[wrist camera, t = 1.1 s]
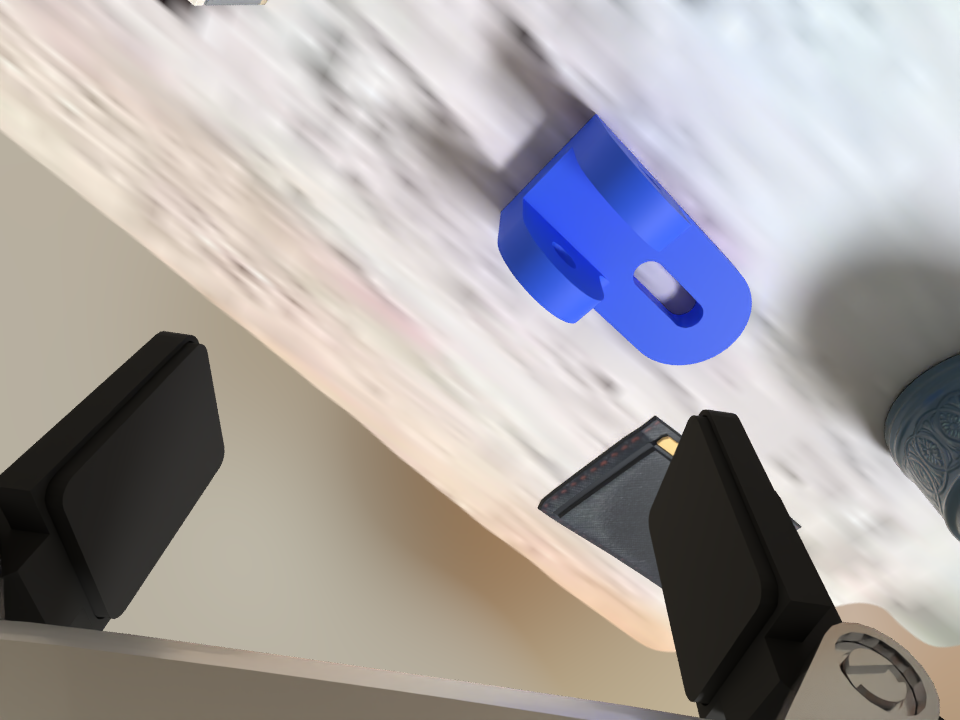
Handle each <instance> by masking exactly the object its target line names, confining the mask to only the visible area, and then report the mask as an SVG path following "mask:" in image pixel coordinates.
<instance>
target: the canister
mask: <svg viewBox="0 0 960 720" xmlns="http://www.w3.org/2000/svg"><path fill="white" fill-rule="evenodd" d="M884 434H885V441H886V444H887V446H888V448H889V450H890V453H891V456H892V458H893V460H894V462H895V463H896V465H897V466H898V467H899V468H900V469H901V471H902V472H903V474H904V475H905V476H906V477H907V478H908V479H910V480H911V481H912V482H914V483H915V484H916V485H917V487H918V488H919V489H920V490H921V492H922V493H923V494H924V495H925V497H926V498H927V499H928V500H929V501H930V503H931V504H932V505H933V506H934V508H935V509H936V510H937V511H938V513H939V514H940V515H941V516H942V518H943V519H944V520H945V523H946V526H947V528H948V529H949V531H950V532H951V534H952V535H953V536H954V537H955V538H956V539H957V540H958V541H960V354H959V355H956V356H954V357H952V358H949V359H947V360H945V361H943V362H941V363H939V364H938V365H936V366H934V367H932V368H931V369H929V370H928V371H926V372H925V373H923V374H922V375H921V376H919V377H918V378H917V379H915V380H914V381H913V382H912V383H911V384H910V385H909V386H908V387H907V388H906V389H905V390H904V391H903V392H902V393H901V394H900V395H899V397H898V398H897V399H896V401H895V402H894V404H893V405H892V407H891V409H890V411H889V413H888V416H887V419H886V422H885V429H884Z"/></svg>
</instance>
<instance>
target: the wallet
mask: <svg viewBox="0 0 960 720" xmlns="http://www.w3.org/2000/svg"><path fill="white" fill-rule="evenodd" d="M681 436H682V435H680V434H679V433H678V432H676V431H675V430H674V429H672V428H671V427H670V426H668V425H667V424H666V423H665V422H663V421H662V420H661V419H659V418H658V417H657V416H655V417H653V418H652V419H651V420H649V421H648V422H647V423H646V424H644V425H643V426H642V427H640V428H639V429H637V430H636V431H634V432H632V433H631V434H629V435H628V436H626V437H625V438H623V439H622V440H621V441H619V442H618V443H617V444H615V445H614V446H613V447H611V448H610V449H608V450H607V451H606V452H604V453H603V454H602V455H600V456H599V457H598V458H596V459H595V460H594V461H592V462H591V463H590V464H588V465H587V466H586V467H584V468H583V469H582V470H580V471H579V472H578V473H576V474H575V475H573V476H572V477H571V478H569V479H568V480H567V481H565V482H564V483H563V484H561V485H560V486H559V487H557V488H556V489H555V490H553V491H552V492H551V493H550V494H549V495H547V496H546V497H545V498H544V499H542V501H541V503H540V505H539V507H538V509H539V510H541V511H542V512H543V513H545V514H546V515H548V516H549V517H551V518H552V519H554V520H555V521H557V522H558V523H560V524H562V525H563V526H565V527H566V528H568V529H570V530H571V531H573V532H575V533H576V534H578V535H579V536H581V537H583V538H584V539H586V540H588V541H589V542H591V543H593V544H594V545H596V546H597V547H599V548H601V549H602V550H604V551H606V552H607V553H609V554H611V555H612V556H614V557H615V558H617V559H618V560H620V561H621V562H623V563H624V564H626V565H627V566H629V567H631V568H632V569H634V570H635V571H637V572H638V573H640V574H641V575H643V576H644V577H646V578H647V579H649V580H650V581H652V582H653V583H655V584H656V585H658V586H659V587H661V588H662V585H661V581H660V576H659V572H658V567H657V563H656V558H655V554H654V549H653V545H652V540H651V536H650V531H649V523H648V520H649V513H650V509H651V507H652V504H653V502H654V500H655V497H656V495H657V493H658V490H659V488H660V486H661V483H662V481H663V479H664V476H665V474H666V472H667V469H668V467H669V464H670V462H671V460H672V457H673V455H674V453H675V450H676V448H677V446H678V443H679V441H680V439H681ZM790 518H791V517H790ZM791 520H792V522H793V524H794V526H795V528H796V530H797V529H799V528H801V526H800V525H799V524H798V523H797V522H795V521H794V520H793V519H792V518H791Z"/></svg>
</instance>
